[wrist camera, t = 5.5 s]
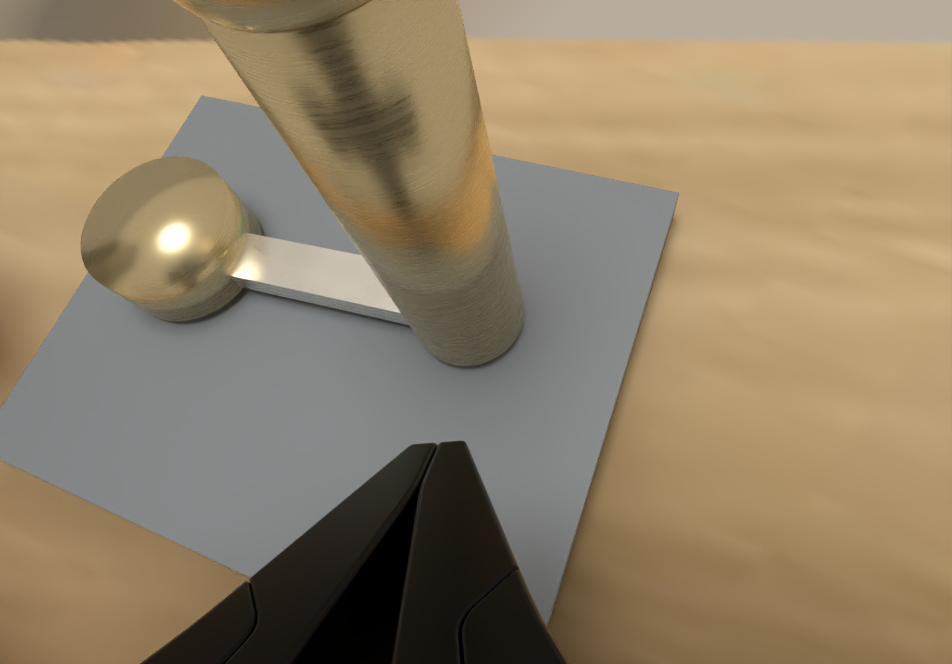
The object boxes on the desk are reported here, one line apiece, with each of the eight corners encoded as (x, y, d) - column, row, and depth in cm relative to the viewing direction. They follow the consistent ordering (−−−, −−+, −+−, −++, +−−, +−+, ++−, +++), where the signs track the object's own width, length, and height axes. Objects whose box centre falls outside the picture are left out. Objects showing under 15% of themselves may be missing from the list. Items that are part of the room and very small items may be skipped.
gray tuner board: (673, 216, 18) (679, 190, 17) (527, 695, 14) (521, 706, 13) (220, 118, 23) (199, 93, 22) (11, 455, 19) (-29, 447, 17)
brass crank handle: (105, 304, 18) (-819, -227, 6) (169, 186, 20) (-482, -433, 8) (511, 407, 15) (216, -304, 3) (554, 256, 16) (473, -644, 4)
